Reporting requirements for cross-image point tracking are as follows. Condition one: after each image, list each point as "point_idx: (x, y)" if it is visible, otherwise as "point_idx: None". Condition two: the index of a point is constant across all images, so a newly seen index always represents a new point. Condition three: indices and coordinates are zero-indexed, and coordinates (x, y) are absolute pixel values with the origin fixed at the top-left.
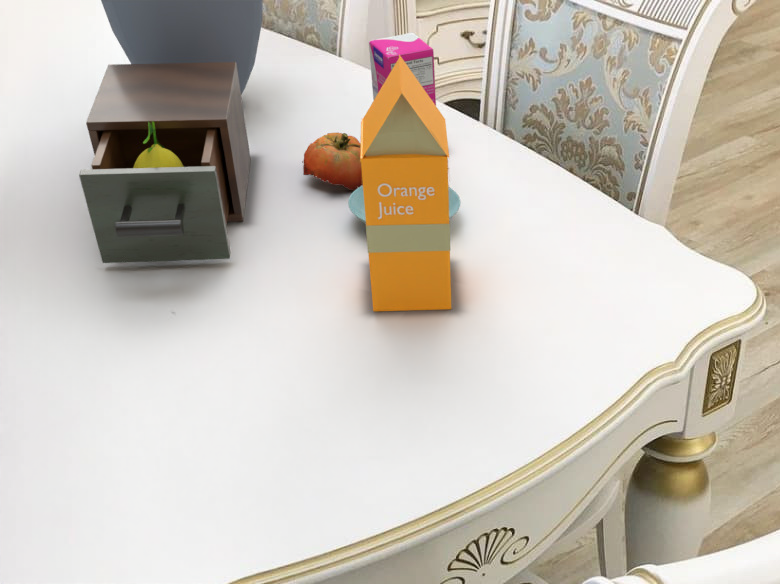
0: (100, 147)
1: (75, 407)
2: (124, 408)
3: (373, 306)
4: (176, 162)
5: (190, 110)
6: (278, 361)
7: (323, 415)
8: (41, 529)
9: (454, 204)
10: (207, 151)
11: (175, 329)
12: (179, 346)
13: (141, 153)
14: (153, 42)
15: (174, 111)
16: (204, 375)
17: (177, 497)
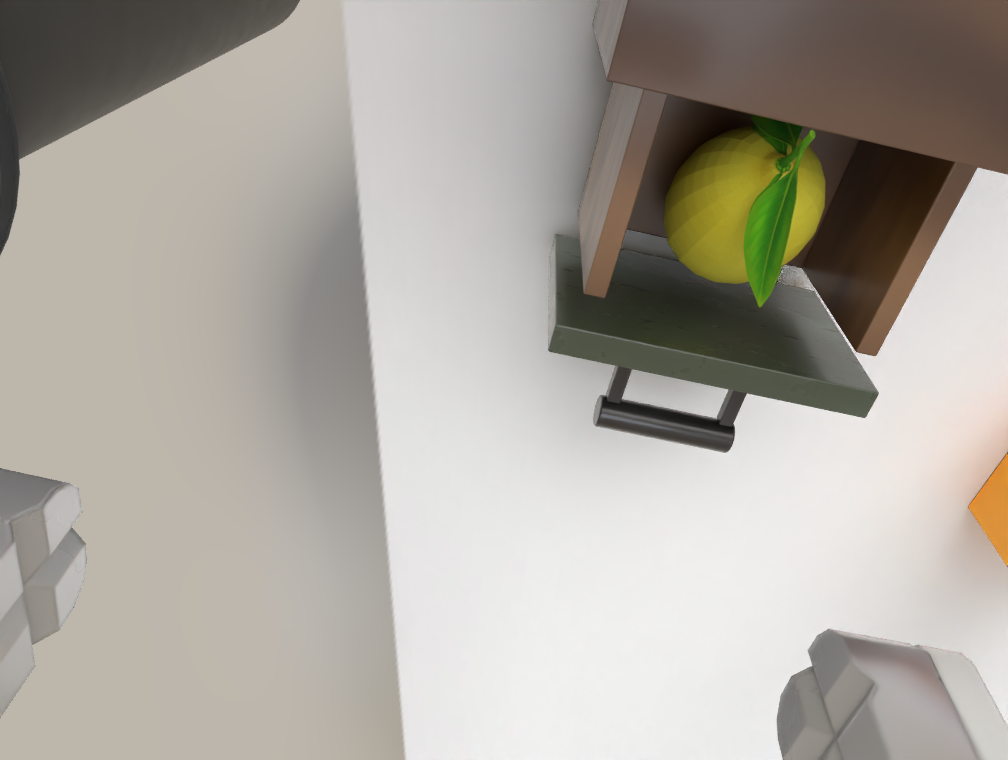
0: (623, 186)
1: (474, 589)
2: (536, 606)
3: (973, 513)
4: (807, 237)
5: (963, 73)
6: (765, 575)
7: (774, 677)
8: (433, 737)
9: None
10: (898, 295)
11: (640, 465)
12: (636, 507)
13: (729, 201)
14: None
15: (909, 68)
16: (654, 575)
17: (572, 736)
